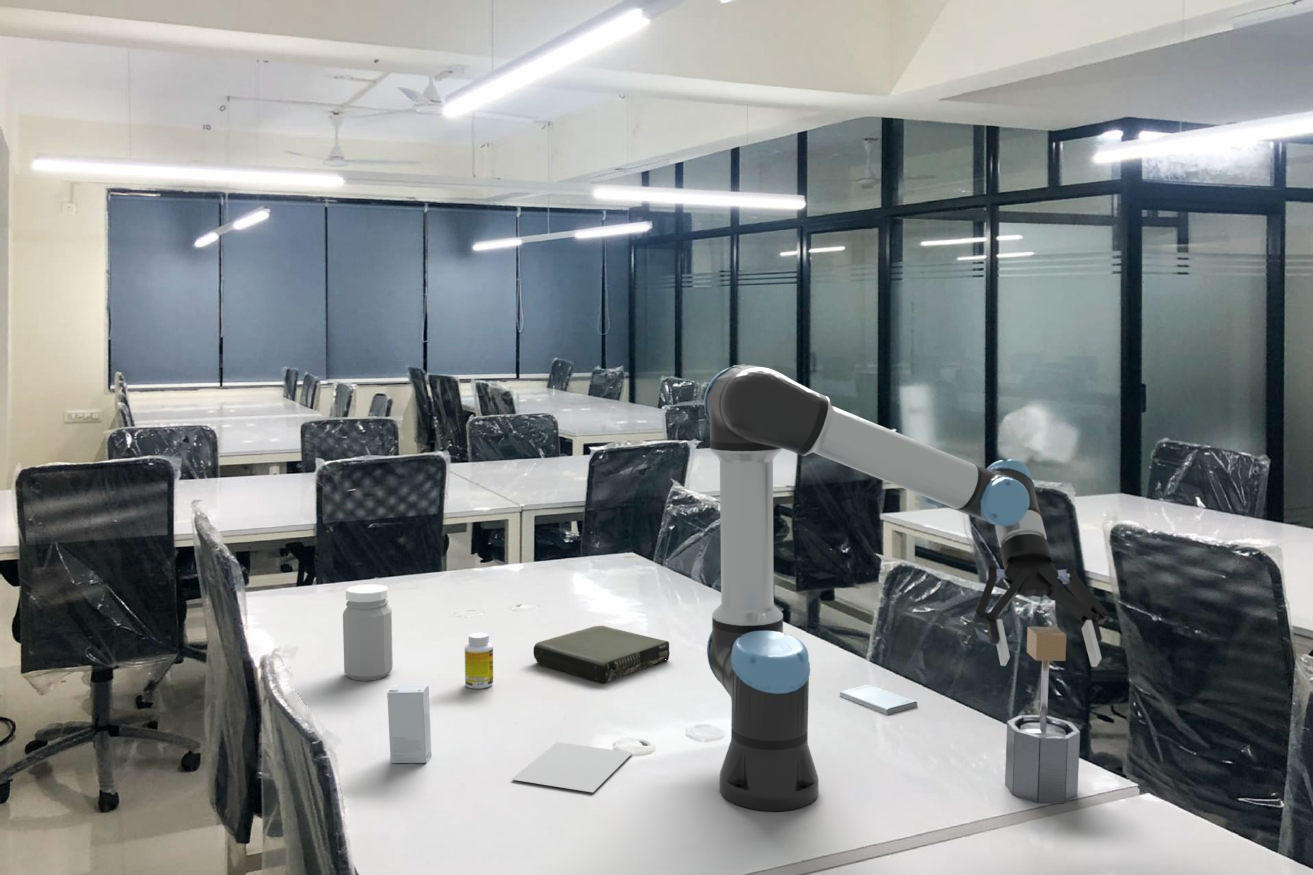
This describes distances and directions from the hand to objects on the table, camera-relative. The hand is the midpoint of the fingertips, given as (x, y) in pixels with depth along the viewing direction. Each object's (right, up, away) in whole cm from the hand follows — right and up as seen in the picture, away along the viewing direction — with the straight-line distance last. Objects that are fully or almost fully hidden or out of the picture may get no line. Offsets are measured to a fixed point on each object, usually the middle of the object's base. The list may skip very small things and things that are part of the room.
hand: (1050, 662), depth 162 cm
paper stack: (-76, -19, +17) cm, 80 cm away
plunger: (0, -12, +3) cm, 12 cm away
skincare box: (-100, -19, +15) cm, 103 cm away
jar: (-118, -15, +59) cm, 133 cm away
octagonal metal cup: (0, -20, +4) cm, 21 cm away
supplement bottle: (-95, -16, +53) cm, 109 cm away
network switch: (-71, -15, +68) cm, 100 cm away
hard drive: (-17, -17, +44) cm, 50 cm away
